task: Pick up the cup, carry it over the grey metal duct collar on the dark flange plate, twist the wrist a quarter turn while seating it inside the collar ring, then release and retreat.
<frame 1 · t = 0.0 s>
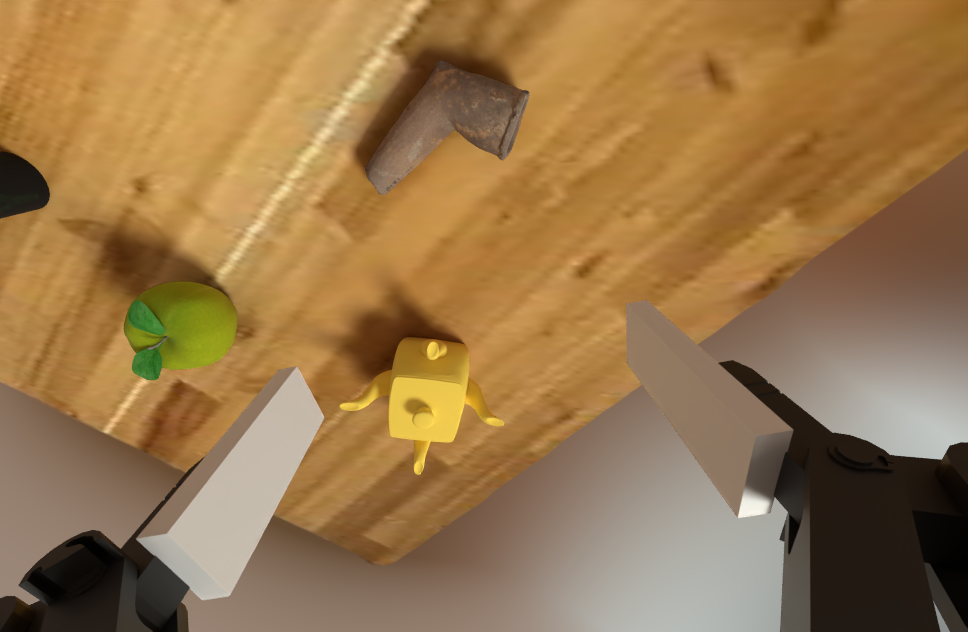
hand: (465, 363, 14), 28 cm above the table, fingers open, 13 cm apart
pipe: (448, 143, 36), on the table
cup: (20, 181, 36), on the table
fruit: (217, 305, 43), on the table
teapot: (431, 370, 48), on the table
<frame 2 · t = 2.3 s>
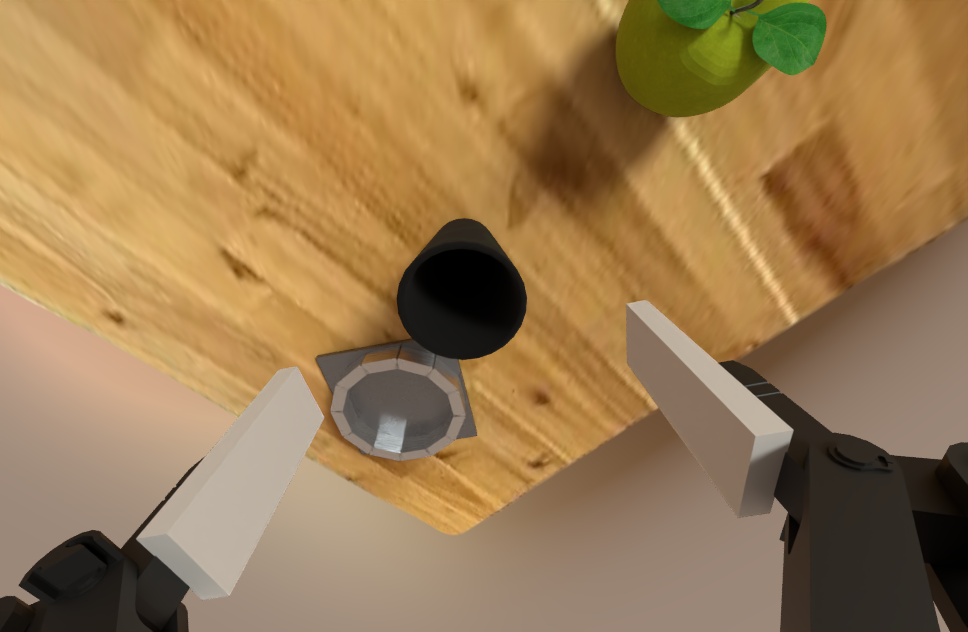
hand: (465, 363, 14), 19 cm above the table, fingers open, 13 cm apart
cup: (464, 249, 31), on the table
fruit: (660, 47, 25), on the table
duct collar: (403, 396, 38), on the table
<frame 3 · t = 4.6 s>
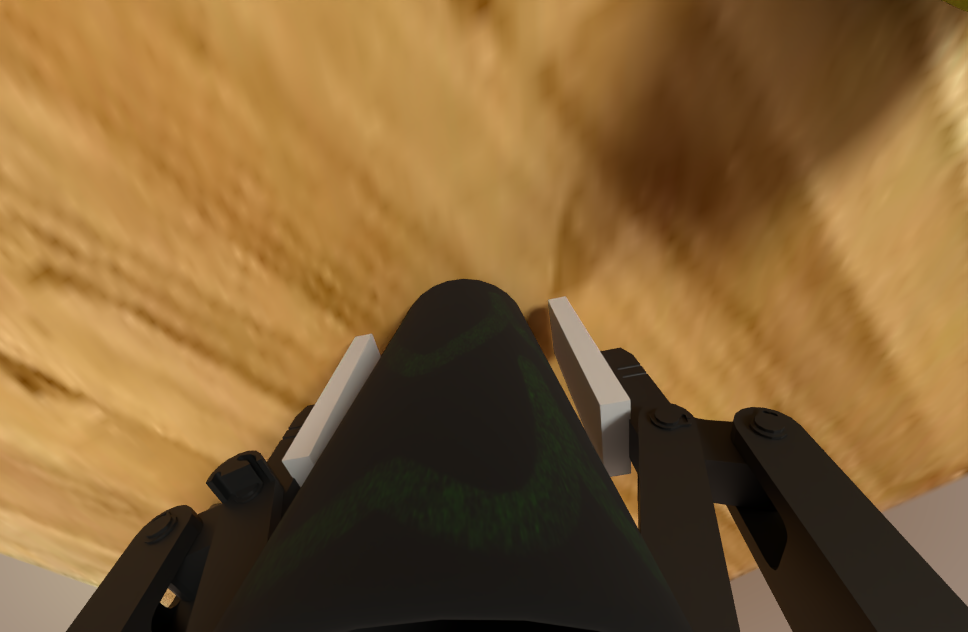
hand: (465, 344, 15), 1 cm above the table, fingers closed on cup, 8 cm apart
cup: (465, 333, 16), on the table, touching gripper
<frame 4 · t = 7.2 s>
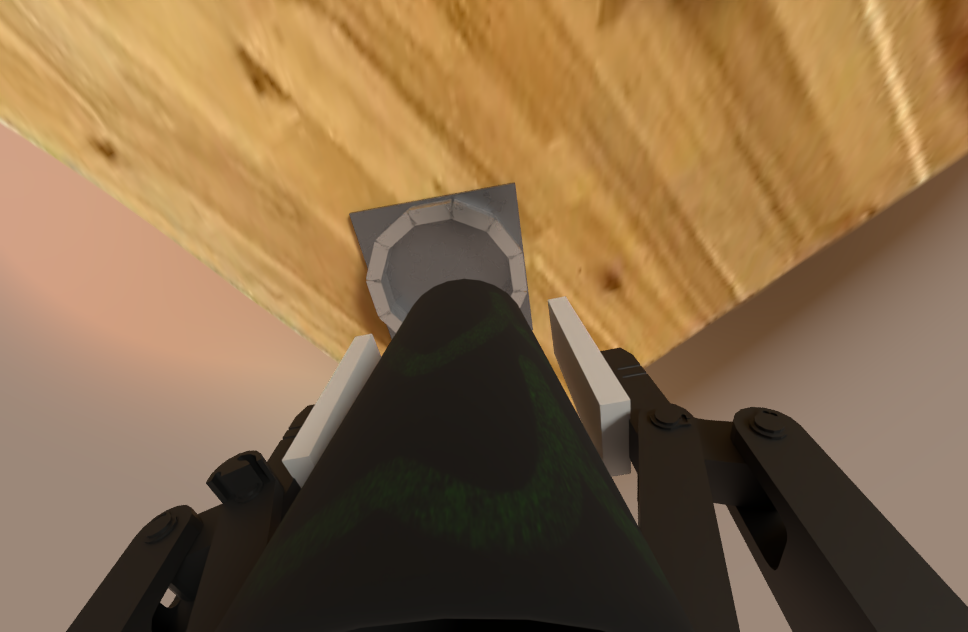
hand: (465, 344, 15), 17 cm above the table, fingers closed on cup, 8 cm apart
cup: (466, 333, 16), point 17 cm above the table, touching gripper
duct collar: (449, 275, 32), on the table
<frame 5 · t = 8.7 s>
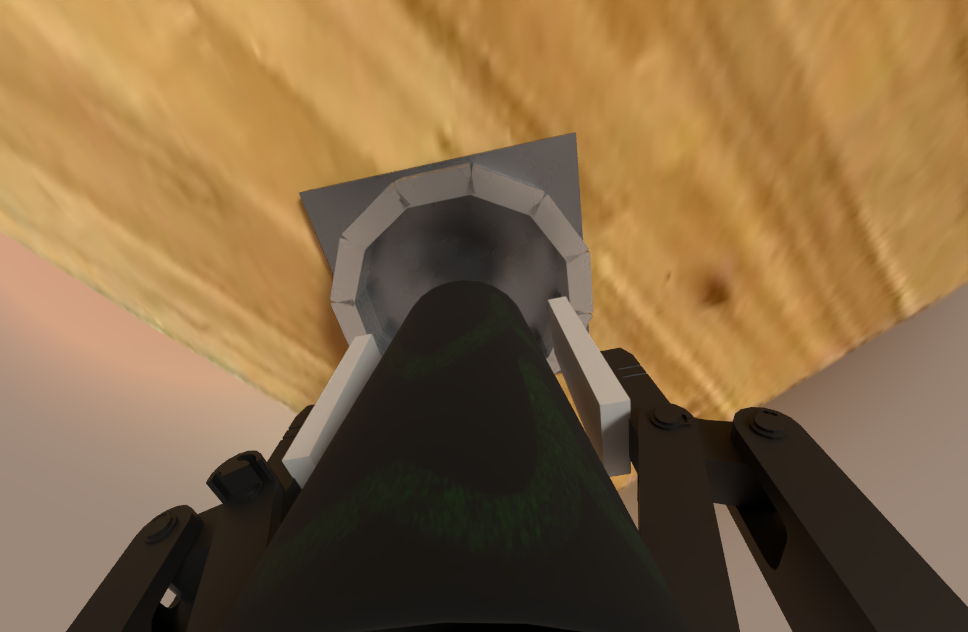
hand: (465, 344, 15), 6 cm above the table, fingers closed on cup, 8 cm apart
cup: (466, 334, 16), point 5 cm above the table, touching gripper
duct collar: (465, 288, 21), on the table
when the fingers open (3 cm above the table, at t = 9.7 s): cup drops 2 cm, resting on duct collar.
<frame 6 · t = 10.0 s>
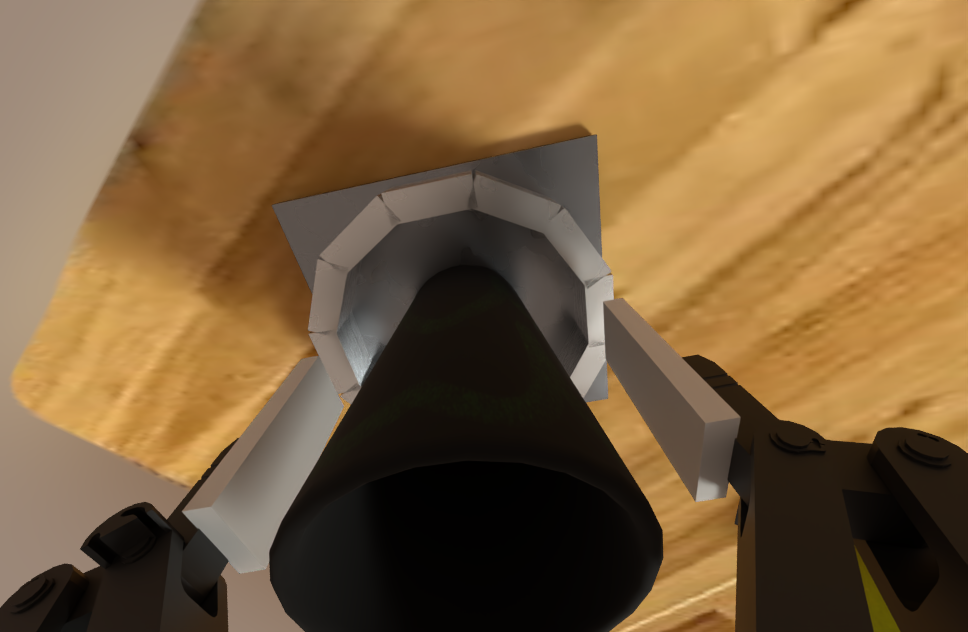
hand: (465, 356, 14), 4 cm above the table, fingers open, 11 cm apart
cup: (467, 315, 18), resting on duct collar
fruit: (853, 535, 29), on the table
duct collar: (466, 312, 18), on the table
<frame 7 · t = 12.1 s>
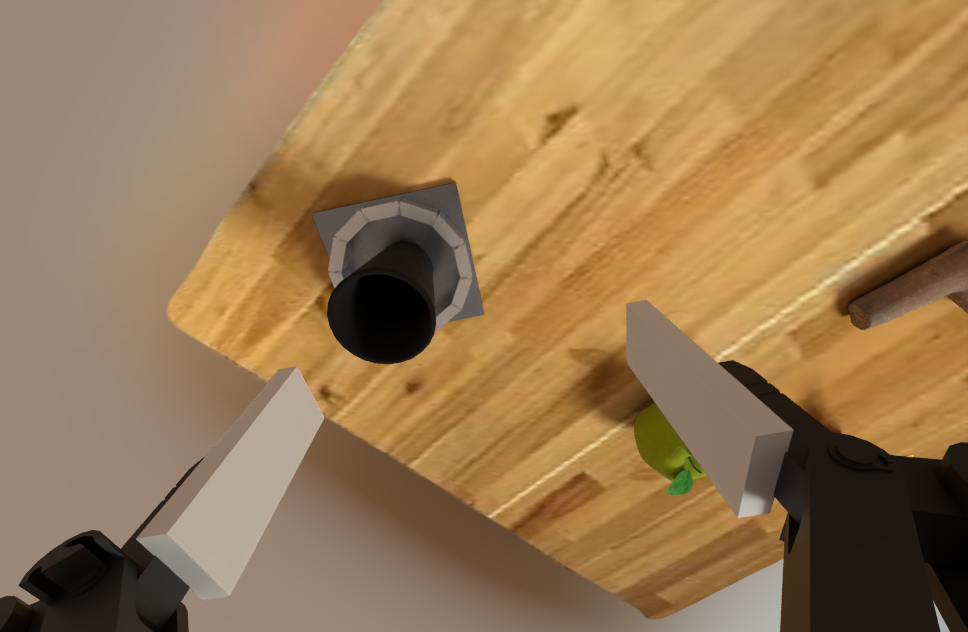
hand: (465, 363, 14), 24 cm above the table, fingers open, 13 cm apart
pipe: (910, 291, 42), on the table
cup: (405, 267, 36), resting on duct collar
fruit: (654, 411, 47), on the table
duct collar: (405, 266, 36), on the table
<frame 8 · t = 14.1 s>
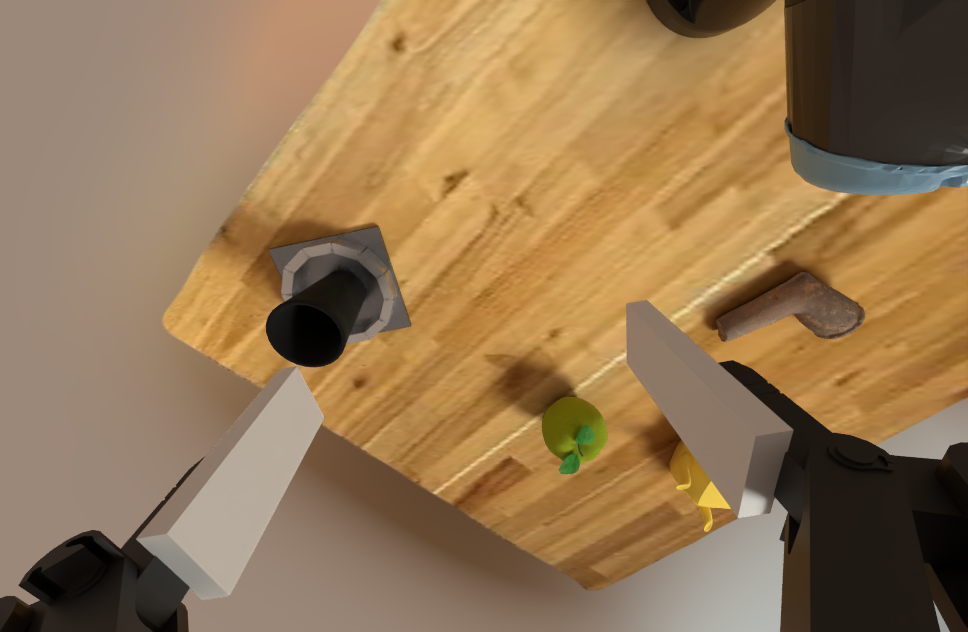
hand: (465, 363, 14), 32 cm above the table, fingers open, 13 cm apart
pipe: (769, 310, 50), on the table
cup: (344, 290, 46), resting on duct collar
fruit: (564, 406, 57), on the table
duct collar: (345, 289, 46), on the table
teapot: (699, 447, 62), on the table
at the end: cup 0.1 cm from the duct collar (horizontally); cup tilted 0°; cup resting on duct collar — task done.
